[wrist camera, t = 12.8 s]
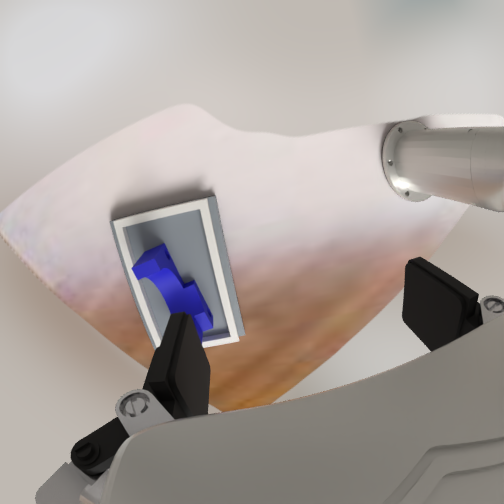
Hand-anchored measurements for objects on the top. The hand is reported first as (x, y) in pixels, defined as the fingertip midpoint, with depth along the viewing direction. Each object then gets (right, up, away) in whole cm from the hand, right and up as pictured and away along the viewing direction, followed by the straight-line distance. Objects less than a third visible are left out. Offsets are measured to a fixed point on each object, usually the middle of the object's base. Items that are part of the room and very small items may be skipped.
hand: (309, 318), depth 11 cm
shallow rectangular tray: (-12, -1, +25) cm, 28 cm away
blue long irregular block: (-12, -2, +25) cm, 27 cm away
